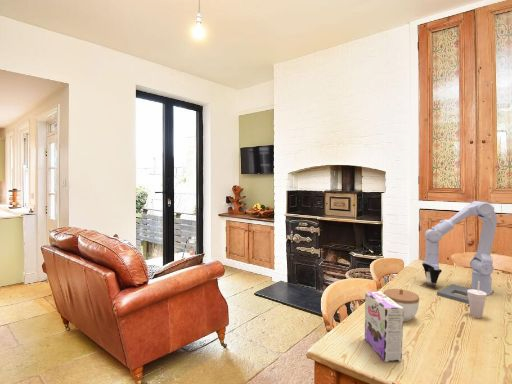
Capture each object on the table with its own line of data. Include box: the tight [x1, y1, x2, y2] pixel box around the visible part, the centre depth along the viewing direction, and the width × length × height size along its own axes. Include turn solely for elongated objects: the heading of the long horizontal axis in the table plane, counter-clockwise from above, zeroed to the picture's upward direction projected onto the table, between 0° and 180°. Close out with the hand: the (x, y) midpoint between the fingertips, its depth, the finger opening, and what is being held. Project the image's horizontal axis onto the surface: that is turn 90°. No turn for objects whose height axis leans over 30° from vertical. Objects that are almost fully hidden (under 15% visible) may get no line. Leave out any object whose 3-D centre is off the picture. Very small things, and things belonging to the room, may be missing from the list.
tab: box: [418, 282, 443, 291], centre depth 155 cm, size 8×8×1 cm
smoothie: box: [467, 281, 488, 319], centre depth 123 cm, size 6×6×14 cm
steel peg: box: [425, 271, 437, 288], centre depth 155 cm, size 4×4×7 cm
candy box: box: [364, 290, 404, 363], centre depth 98 cm, size 14×6×16 cm, turn 5°
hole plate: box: [436, 283, 487, 307], centre depth 143 cm, size 18×14×3 cm
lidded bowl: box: [383, 288, 420, 322], centre depth 122 cm, size 13×13×11 cm
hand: (431, 280), depth 155 cm, fingers open, 7 cm apart
